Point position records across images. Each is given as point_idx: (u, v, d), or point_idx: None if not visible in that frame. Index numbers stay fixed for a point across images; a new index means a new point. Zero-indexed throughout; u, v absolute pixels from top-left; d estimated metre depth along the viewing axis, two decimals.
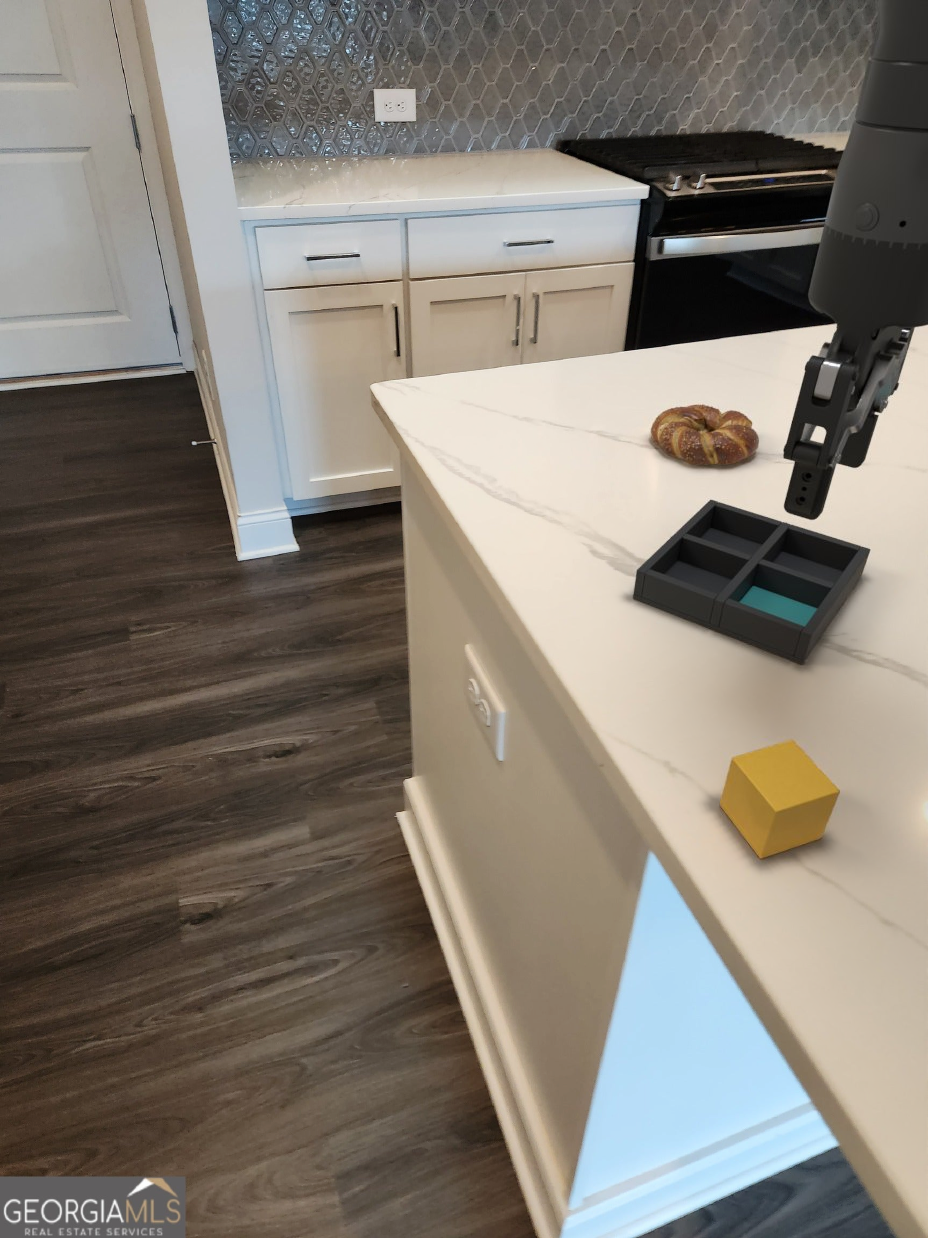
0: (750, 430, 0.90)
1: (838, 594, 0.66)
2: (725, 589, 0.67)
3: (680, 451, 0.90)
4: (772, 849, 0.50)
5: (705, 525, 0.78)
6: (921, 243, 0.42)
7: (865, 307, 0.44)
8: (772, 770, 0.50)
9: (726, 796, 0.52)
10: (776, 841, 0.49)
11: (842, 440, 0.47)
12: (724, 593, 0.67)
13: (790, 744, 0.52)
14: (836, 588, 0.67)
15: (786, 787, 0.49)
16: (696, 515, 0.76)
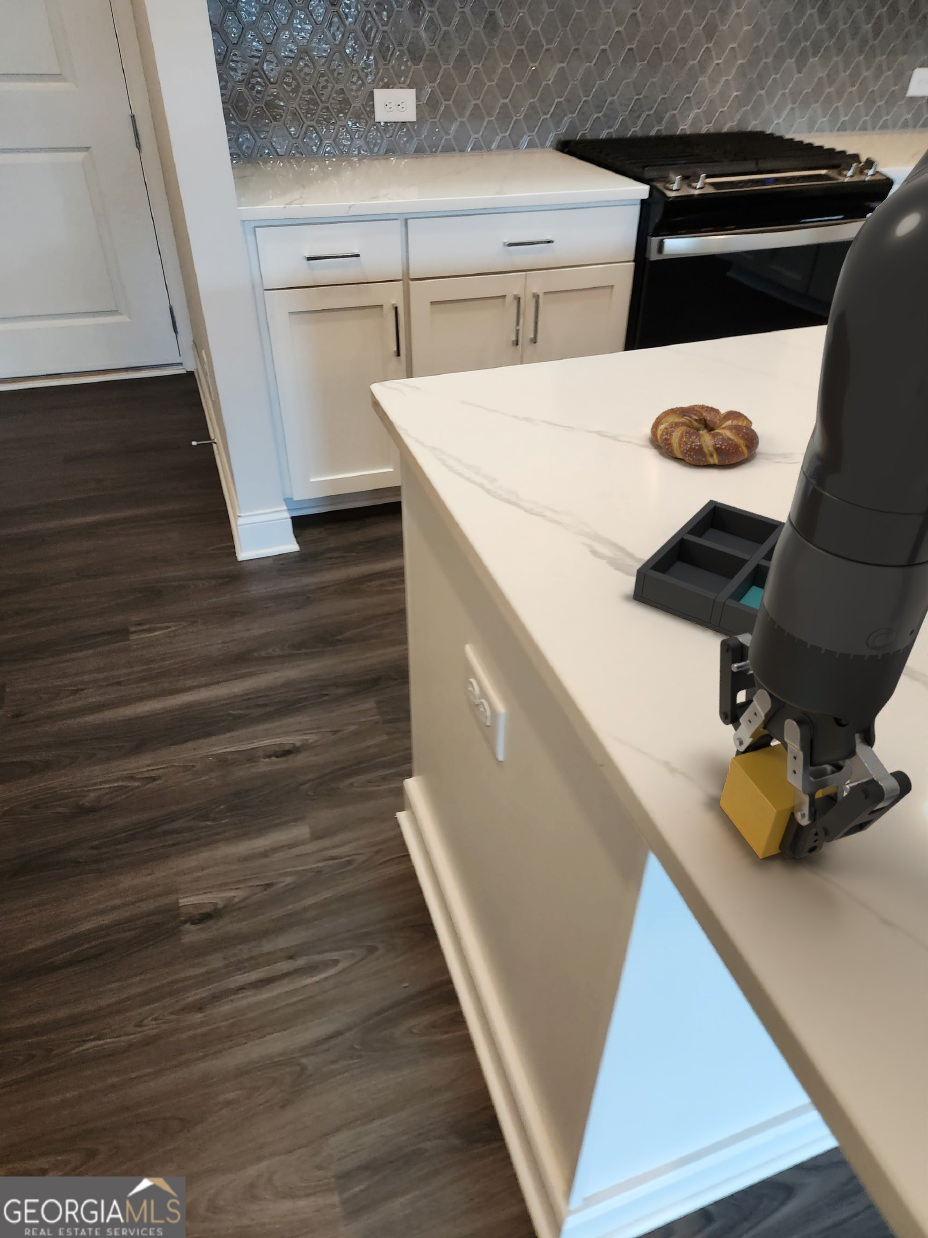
0: (750, 430, 0.90)
1: None
2: (725, 589, 0.67)
3: (680, 451, 0.90)
4: (773, 849, 0.50)
5: (705, 525, 0.78)
6: (916, 636, 0.40)
7: (876, 701, 0.41)
8: (772, 770, 0.50)
9: (726, 796, 0.52)
10: (776, 841, 0.49)
11: None
12: (724, 593, 0.67)
13: None
14: None
15: (786, 787, 0.49)
16: (696, 515, 0.76)
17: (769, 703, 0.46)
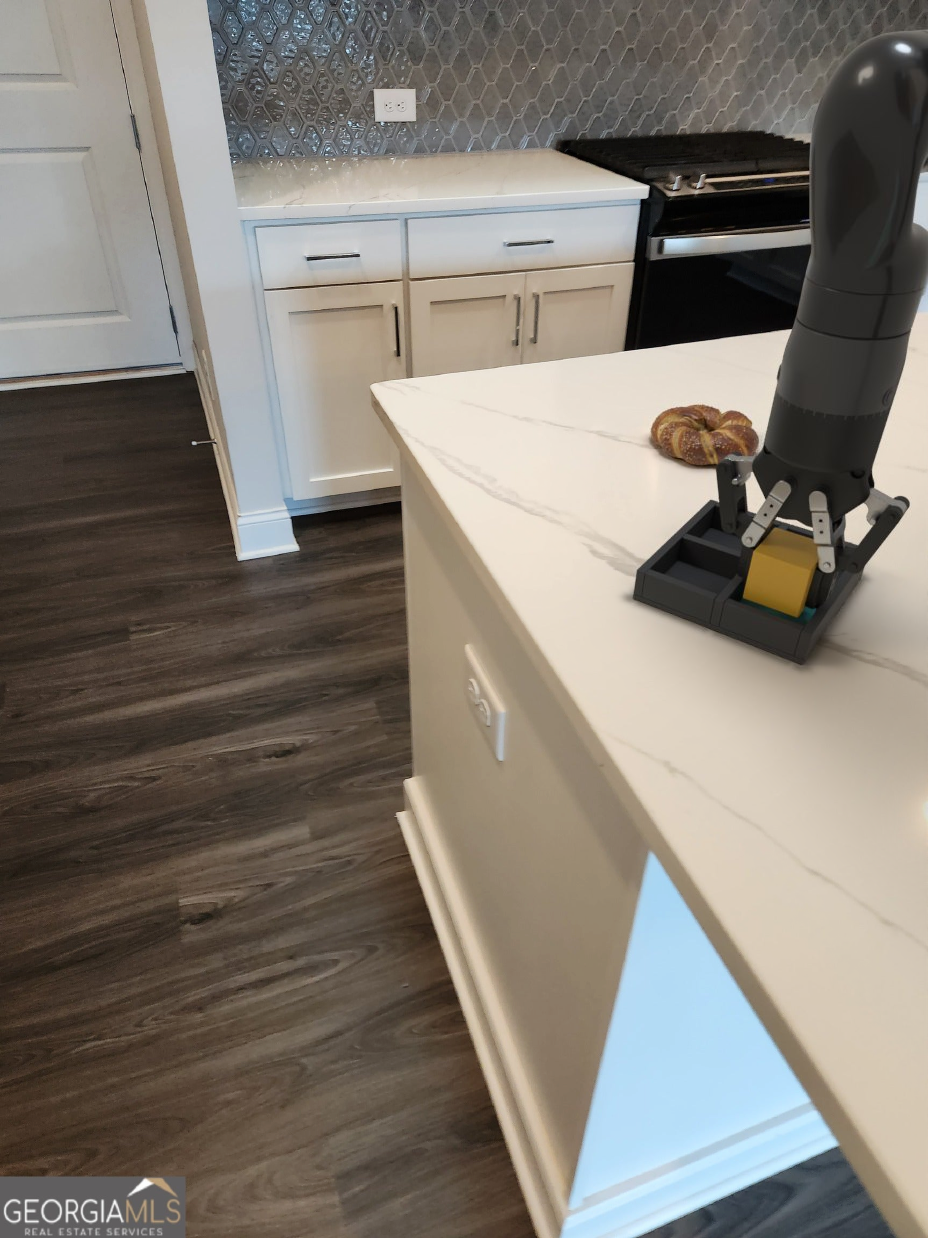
0: (750, 430, 0.90)
1: (838, 594, 0.66)
2: (725, 589, 0.67)
3: (680, 451, 0.90)
4: (802, 607, 0.64)
5: (705, 525, 0.78)
6: None
7: (877, 450, 0.57)
8: (783, 548, 0.64)
9: (750, 586, 0.65)
10: (805, 598, 0.64)
11: None
12: (724, 593, 0.67)
13: (776, 530, 0.66)
14: (836, 588, 0.67)
15: (801, 554, 0.63)
16: (696, 515, 0.76)
17: (789, 488, 0.60)
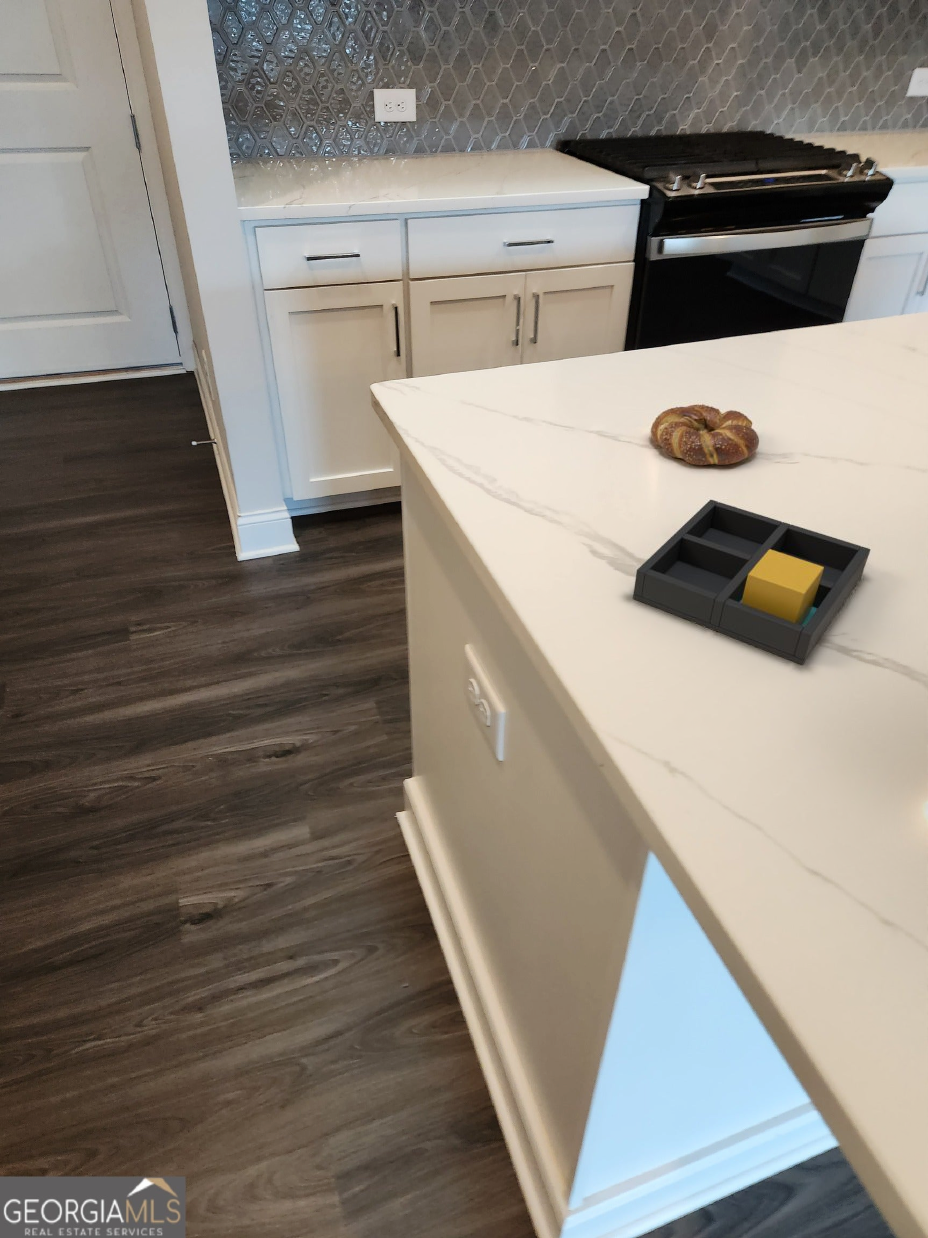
0: (750, 430, 0.90)
1: (838, 594, 0.66)
2: (725, 589, 0.67)
3: (680, 451, 0.90)
4: None
5: (705, 525, 0.78)
6: None
7: None
8: (778, 571, 0.65)
9: None
10: (799, 620, 0.65)
11: None
12: (724, 593, 0.67)
13: (771, 552, 0.67)
14: (836, 588, 0.67)
15: (795, 577, 0.65)
16: (696, 515, 0.76)
17: None
